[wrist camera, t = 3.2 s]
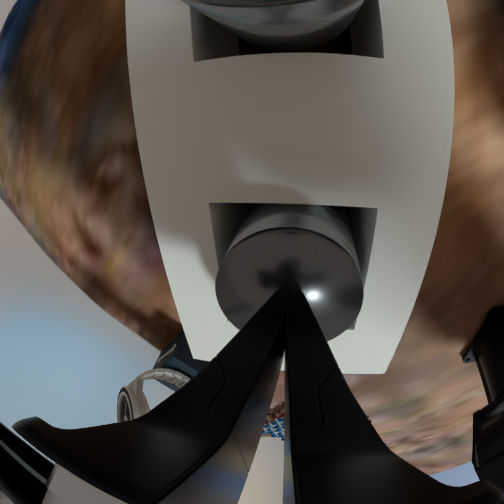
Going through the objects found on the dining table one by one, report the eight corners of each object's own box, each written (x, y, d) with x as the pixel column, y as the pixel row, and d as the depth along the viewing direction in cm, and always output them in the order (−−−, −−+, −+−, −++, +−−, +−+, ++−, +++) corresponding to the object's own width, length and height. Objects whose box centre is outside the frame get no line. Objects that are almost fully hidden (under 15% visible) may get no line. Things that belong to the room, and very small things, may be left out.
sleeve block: (372, 297, 17) (384, 373, 12) (222, 289, 19) (193, 358, 14) (379, -58, 6) (405, -112, 1) (189, -51, 8) (132, -94, 3)
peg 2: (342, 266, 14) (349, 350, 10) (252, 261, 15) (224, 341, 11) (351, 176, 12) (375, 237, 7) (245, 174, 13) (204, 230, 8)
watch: (167, 313, 22) (105, 430, 13) (245, 364, 24) (213, 480, 14) (144, 339, 25) (92, 434, 16) (212, 382, 26) (179, 478, 17)
